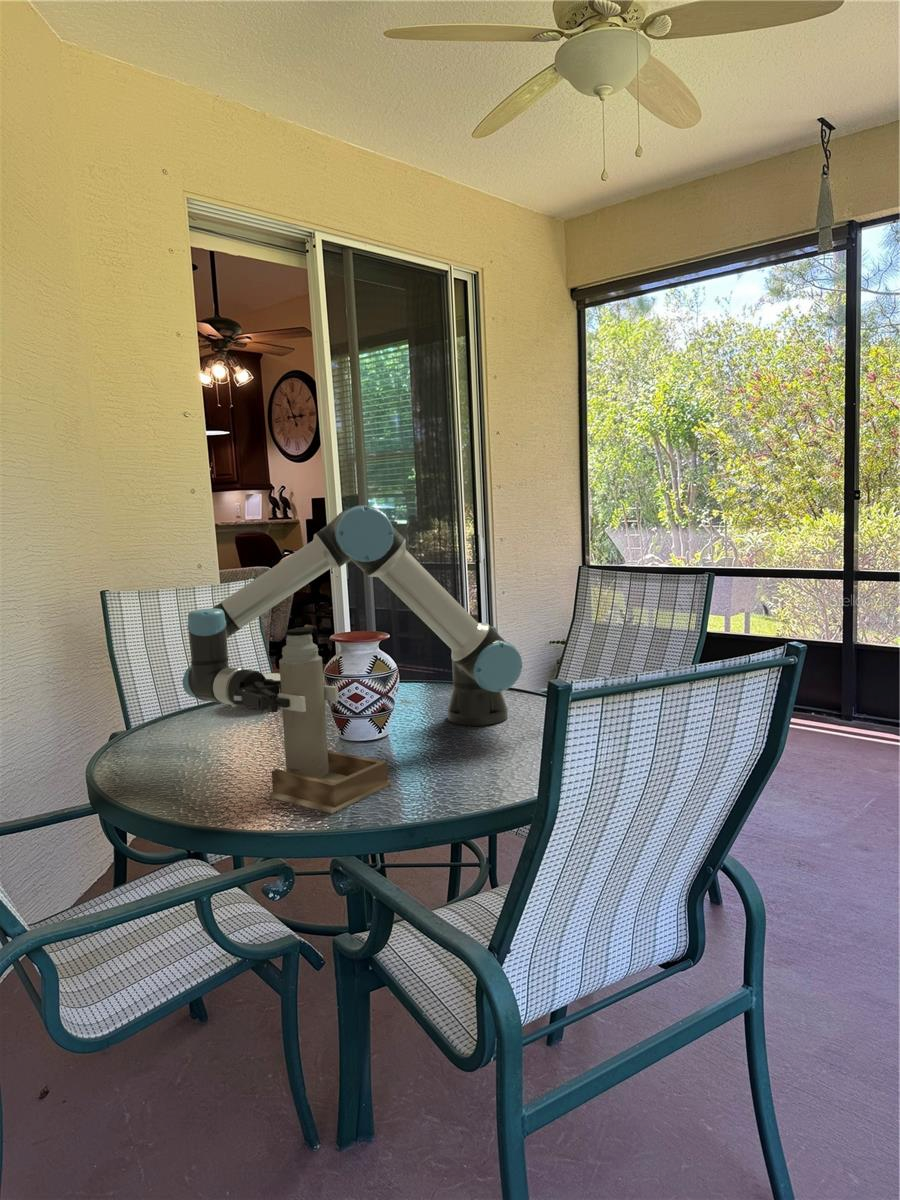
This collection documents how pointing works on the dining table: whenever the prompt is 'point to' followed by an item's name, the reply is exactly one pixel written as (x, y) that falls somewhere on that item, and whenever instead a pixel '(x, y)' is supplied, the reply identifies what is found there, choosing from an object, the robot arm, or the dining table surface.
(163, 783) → the dining table surface
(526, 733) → the dining table surface
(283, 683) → the thermos bottle
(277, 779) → the walnut cradle
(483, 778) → the dining table surface
